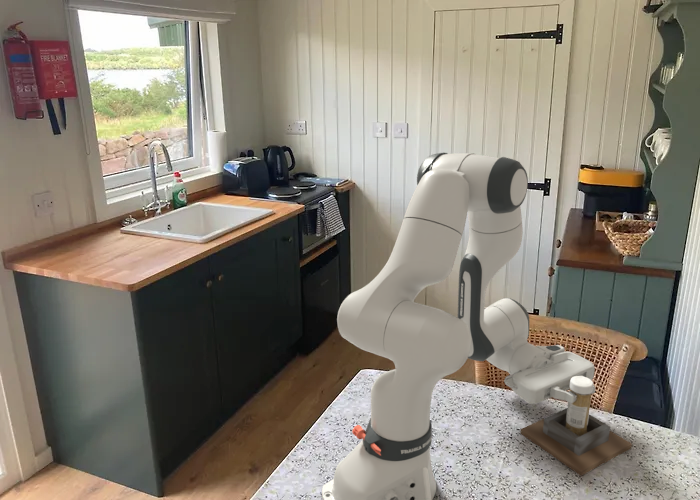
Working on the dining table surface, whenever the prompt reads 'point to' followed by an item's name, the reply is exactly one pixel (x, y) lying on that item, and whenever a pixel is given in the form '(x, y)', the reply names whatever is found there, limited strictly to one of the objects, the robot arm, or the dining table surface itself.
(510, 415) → the dining table surface
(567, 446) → the socket base
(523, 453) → the dining table surface
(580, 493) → the dining table surface
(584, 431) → the sprinkles bottle
